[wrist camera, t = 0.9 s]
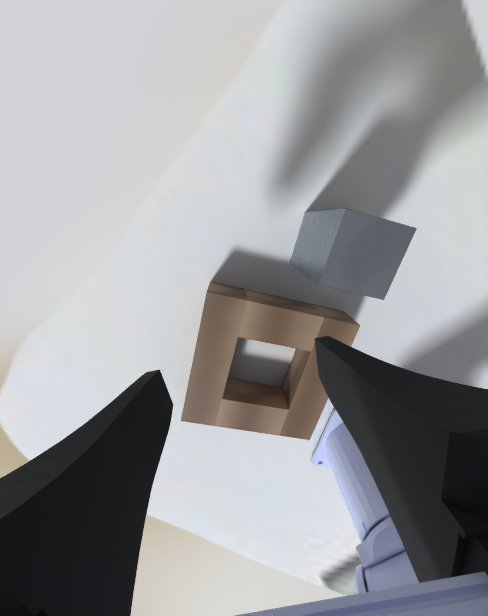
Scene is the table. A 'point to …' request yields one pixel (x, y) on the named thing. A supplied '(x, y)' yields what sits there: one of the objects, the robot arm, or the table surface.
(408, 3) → the table surface
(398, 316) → the table surface
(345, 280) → the steel peg
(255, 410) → the socket block
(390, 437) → the robot arm
